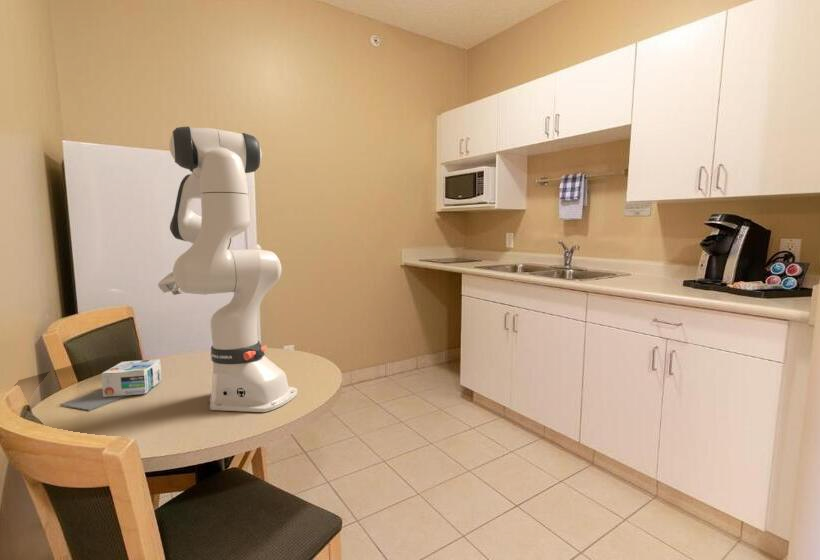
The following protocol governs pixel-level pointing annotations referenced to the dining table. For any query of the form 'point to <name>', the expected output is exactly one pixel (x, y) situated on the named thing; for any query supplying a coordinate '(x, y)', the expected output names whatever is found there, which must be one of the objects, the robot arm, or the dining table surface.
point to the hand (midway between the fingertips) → (176, 292)
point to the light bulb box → (131, 378)
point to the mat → (91, 401)
